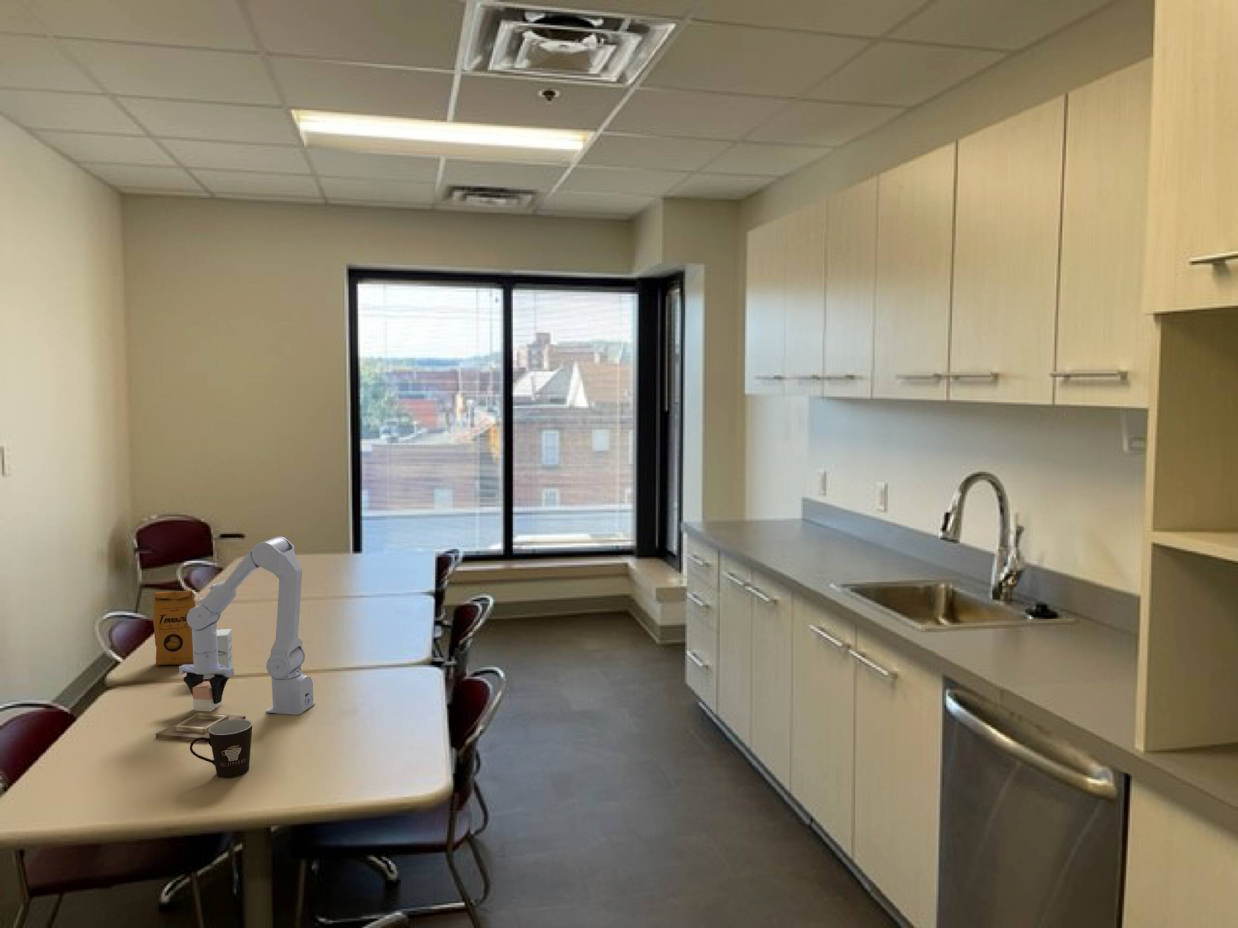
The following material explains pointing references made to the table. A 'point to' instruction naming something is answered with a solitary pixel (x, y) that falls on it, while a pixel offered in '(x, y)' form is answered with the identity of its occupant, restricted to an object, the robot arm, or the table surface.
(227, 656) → the supplement box
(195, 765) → the table surface
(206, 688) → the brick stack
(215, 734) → the coffee mug
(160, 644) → the coffee package
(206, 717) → the walnut board
